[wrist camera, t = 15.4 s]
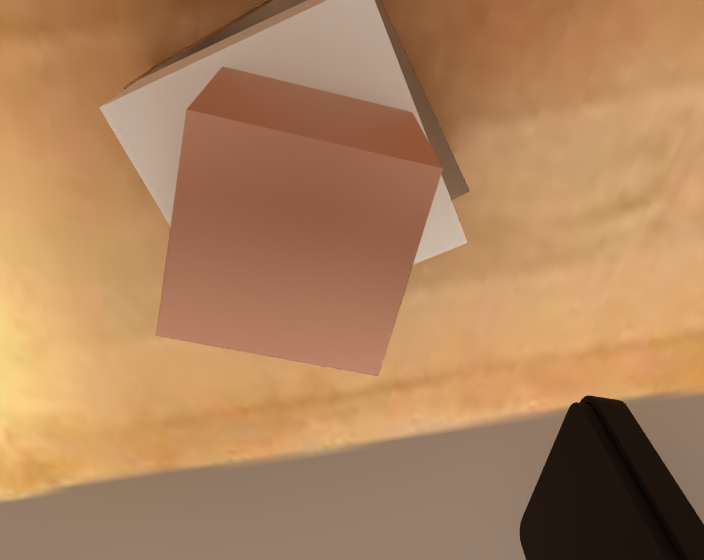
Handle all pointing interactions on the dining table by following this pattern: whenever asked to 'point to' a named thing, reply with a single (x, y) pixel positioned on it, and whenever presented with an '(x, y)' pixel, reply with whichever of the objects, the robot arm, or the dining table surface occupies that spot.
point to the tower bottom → (451, 172)
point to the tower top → (282, 64)
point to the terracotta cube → (294, 222)
